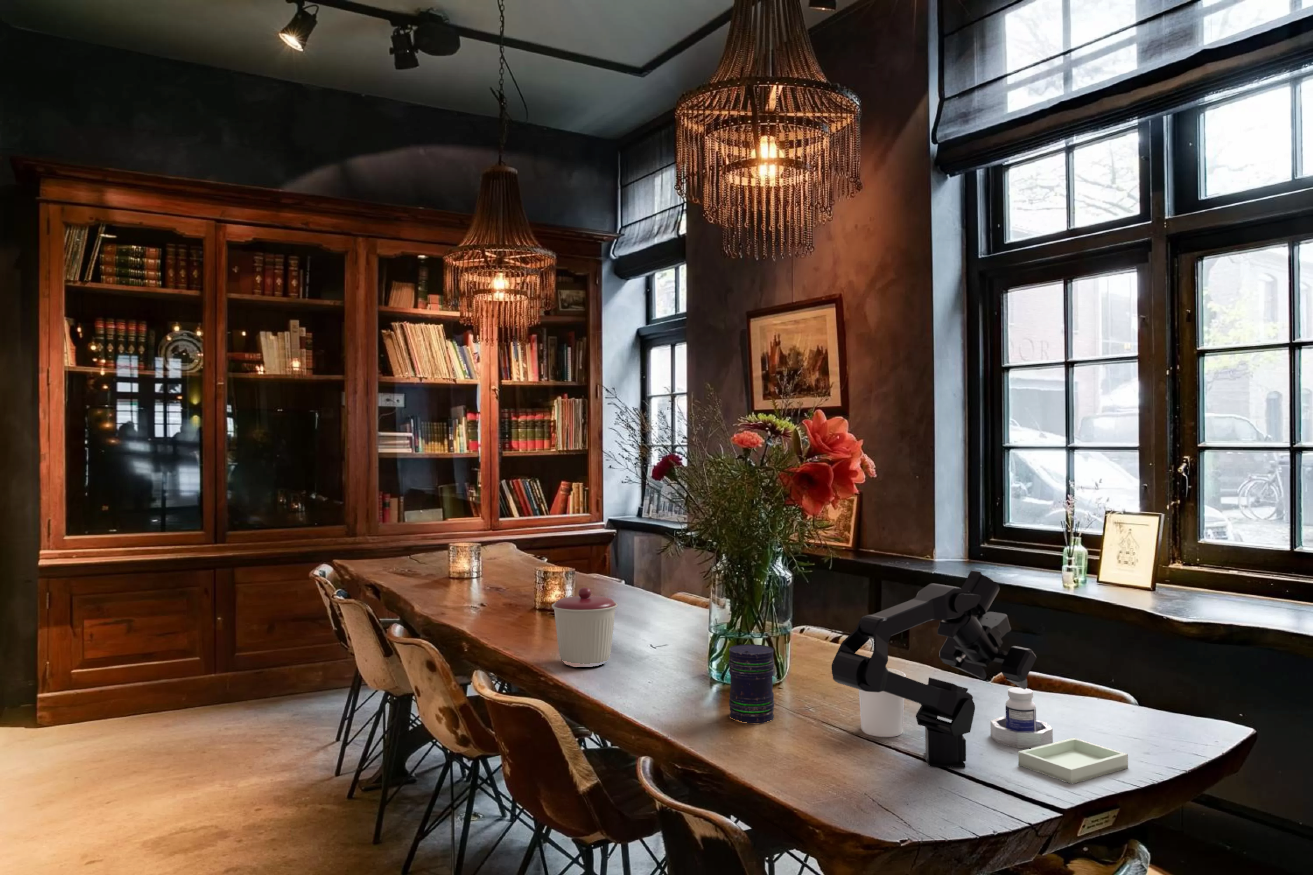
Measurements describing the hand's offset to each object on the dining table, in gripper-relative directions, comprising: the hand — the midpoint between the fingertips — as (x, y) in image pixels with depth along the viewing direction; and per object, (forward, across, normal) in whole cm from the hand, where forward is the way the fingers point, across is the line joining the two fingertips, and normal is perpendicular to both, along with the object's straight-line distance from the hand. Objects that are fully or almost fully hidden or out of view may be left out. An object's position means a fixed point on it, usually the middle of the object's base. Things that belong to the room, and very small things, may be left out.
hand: (1004, 682), depth 178 cm
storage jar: (-12, +42, +30) cm, 53 cm away
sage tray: (+8, -15, +9) cm, 19 cm away
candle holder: (-1, +20, +18) cm, 27 cm away
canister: (-17, +106, +34) cm, 113 cm away
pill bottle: (+12, 0, +5) cm, 13 cm away
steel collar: (+12, 0, +5) cm, 13 cm away
